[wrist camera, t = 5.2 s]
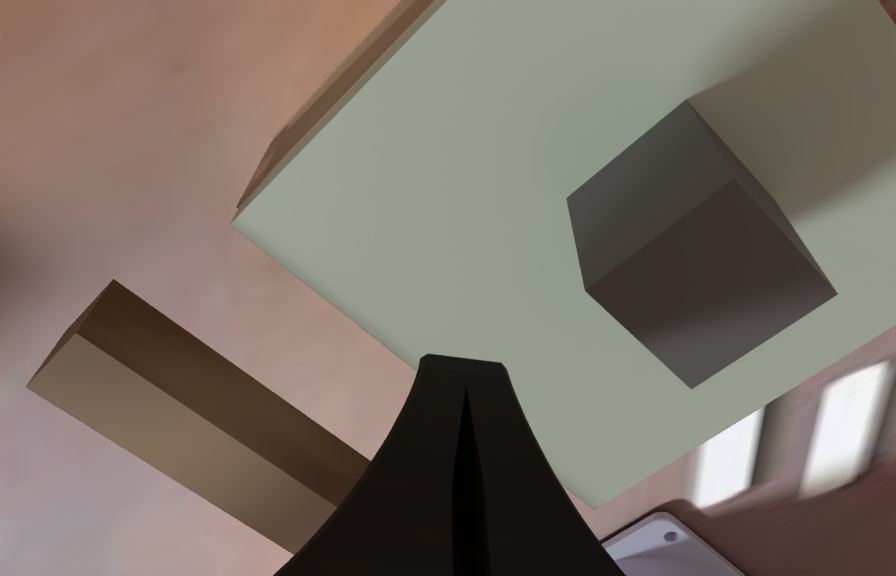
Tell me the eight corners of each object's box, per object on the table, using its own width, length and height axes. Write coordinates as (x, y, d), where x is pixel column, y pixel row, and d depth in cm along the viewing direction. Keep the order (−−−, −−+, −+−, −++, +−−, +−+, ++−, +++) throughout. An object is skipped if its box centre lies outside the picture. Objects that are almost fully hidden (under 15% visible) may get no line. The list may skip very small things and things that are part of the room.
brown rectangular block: (542, 582, 23) (546, 647, 21) (490, 612, 24) (491, 677, 22) (113, 279, 18) (75, 333, 16) (65, 330, 19) (25, 386, 17)
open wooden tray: (926, 142, 21) (1010, 214, 18) (571, 390, 26) (585, 484, 23) (635, -248, 17) (674, -250, 14) (273, 137, 22) (236, 206, 18)
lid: (993, 190, 19) (1163, 333, 14) (585, 456, 23) (612, 627, 19) (670, -255, 14) (762, -262, 10) (251, 183, 19) (179, 319, 14)
